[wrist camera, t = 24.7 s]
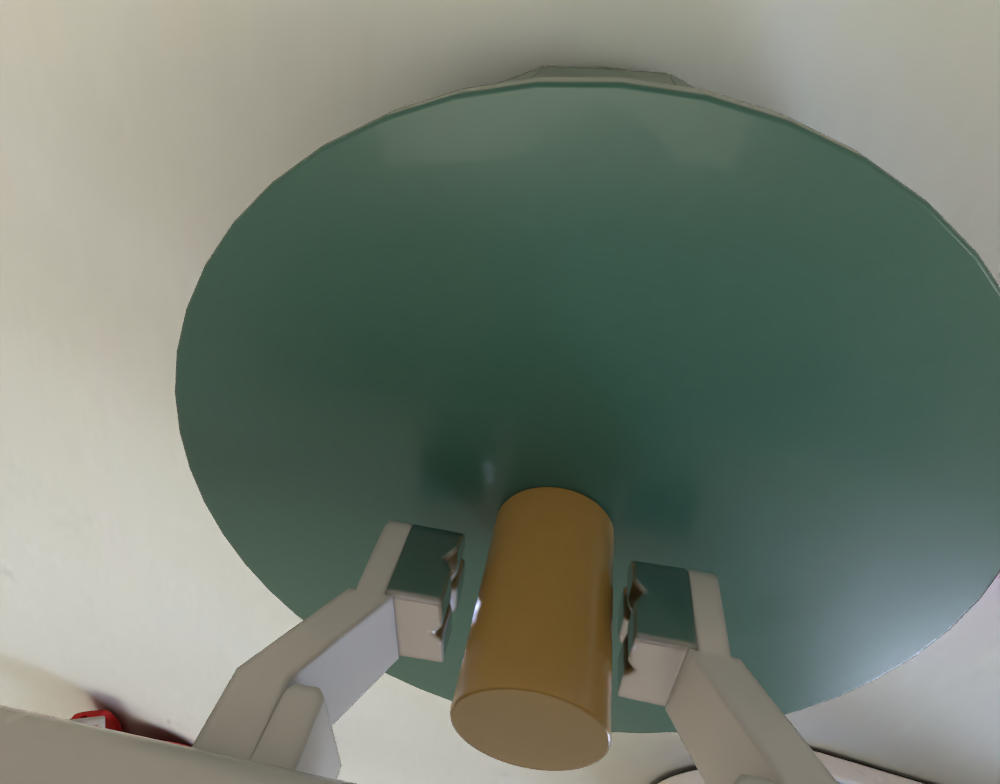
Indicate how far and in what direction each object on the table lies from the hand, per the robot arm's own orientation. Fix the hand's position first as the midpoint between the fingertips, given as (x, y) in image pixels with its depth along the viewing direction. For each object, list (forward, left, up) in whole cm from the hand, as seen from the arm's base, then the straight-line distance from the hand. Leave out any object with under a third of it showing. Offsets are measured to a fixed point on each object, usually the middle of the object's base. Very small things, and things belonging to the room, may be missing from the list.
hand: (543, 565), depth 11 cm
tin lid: (0, 0, -2) cm, 2 cm away
